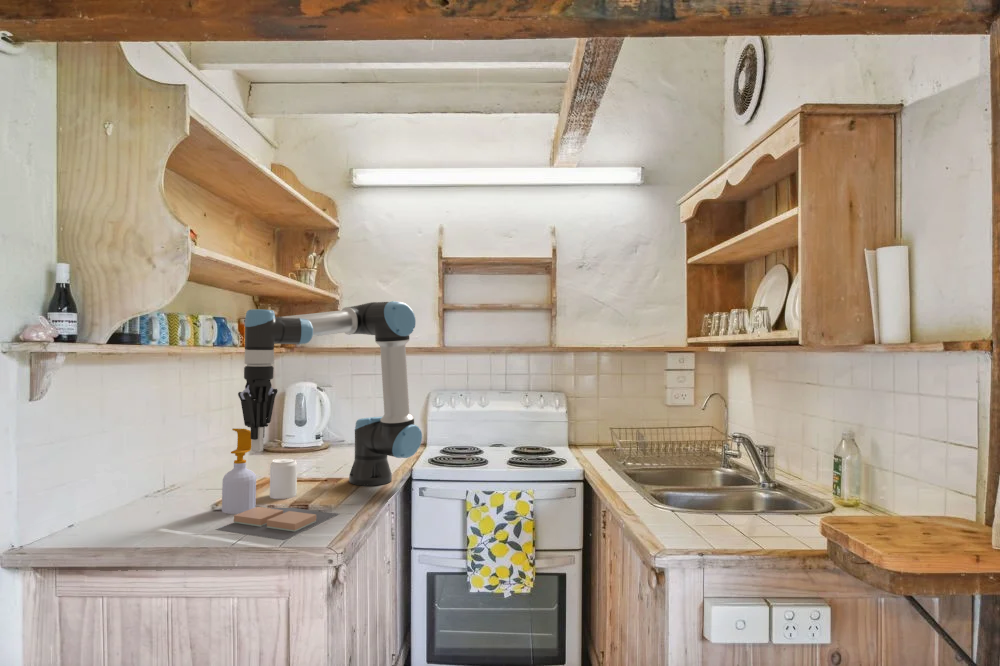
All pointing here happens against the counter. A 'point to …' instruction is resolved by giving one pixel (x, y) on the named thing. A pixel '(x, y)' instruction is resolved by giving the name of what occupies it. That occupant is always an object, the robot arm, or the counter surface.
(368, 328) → the robot arm
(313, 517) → the tile
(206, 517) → the counter surface
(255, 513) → the tile
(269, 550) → the counter surface
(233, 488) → the soap bottle
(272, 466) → the beverage can
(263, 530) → the mat
